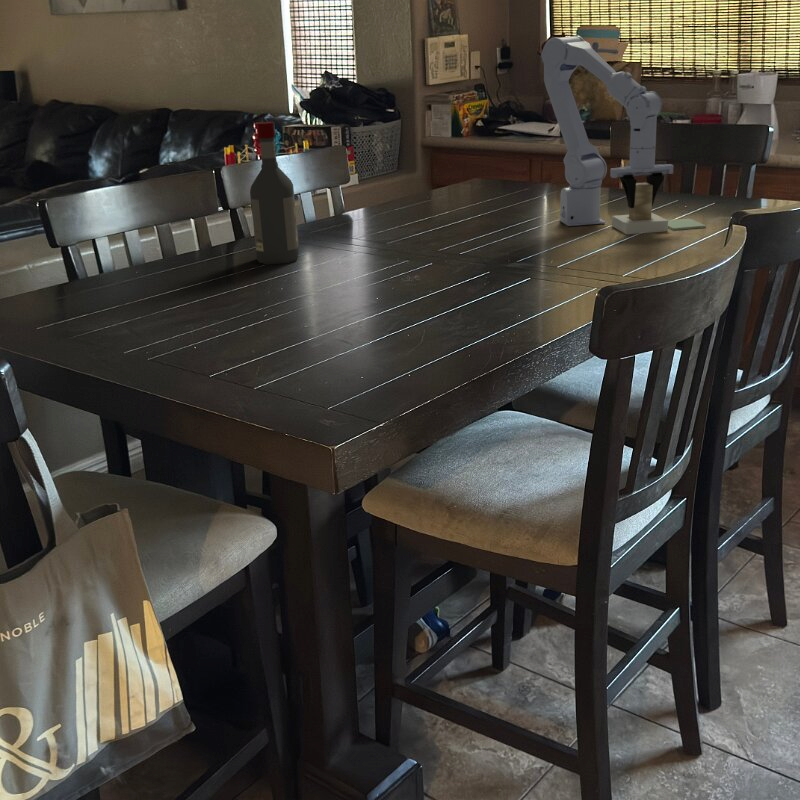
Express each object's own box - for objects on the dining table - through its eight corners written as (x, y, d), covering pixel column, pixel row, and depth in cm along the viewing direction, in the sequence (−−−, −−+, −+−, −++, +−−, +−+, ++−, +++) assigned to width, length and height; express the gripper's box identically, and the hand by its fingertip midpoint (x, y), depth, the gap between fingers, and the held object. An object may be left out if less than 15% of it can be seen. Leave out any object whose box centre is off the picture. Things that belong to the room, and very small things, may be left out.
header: (626, 234, 230) (626, 223, 229) (611, 226, 239) (612, 215, 238) (667, 231, 231) (668, 220, 230) (651, 223, 240) (652, 212, 239)
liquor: (299, 253, 228) (288, 119, 217) (297, 262, 220) (285, 123, 209) (260, 256, 228) (246, 121, 217) (256, 265, 220) (241, 126, 209)
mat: (672, 230, 232) (673, 228, 231) (658, 223, 240) (658, 220, 240) (705, 227, 232) (705, 225, 232) (690, 220, 241) (690, 218, 241)
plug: (634, 224, 232) (636, 186, 229) (628, 221, 236) (630, 183, 233) (651, 223, 233) (652, 185, 229) (644, 220, 236) (646, 182, 233)
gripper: (618, 151, 223) (616, 211, 228) (679, 147, 225) (676, 207, 230) (607, 148, 230) (606, 206, 235) (667, 143, 232) (665, 202, 236)
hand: (640, 206), depth 233 cm, fingers closed on plug, 4 cm apart
